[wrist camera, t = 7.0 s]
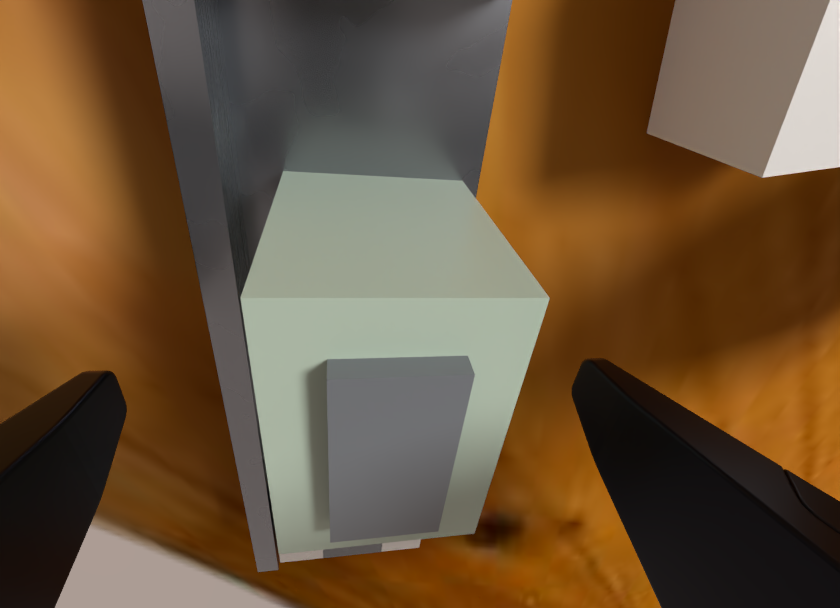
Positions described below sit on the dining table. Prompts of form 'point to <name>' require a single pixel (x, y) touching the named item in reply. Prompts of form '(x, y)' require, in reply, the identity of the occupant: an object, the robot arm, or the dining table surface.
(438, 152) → the rail
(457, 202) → the module
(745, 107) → the block
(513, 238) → the dining table surface
